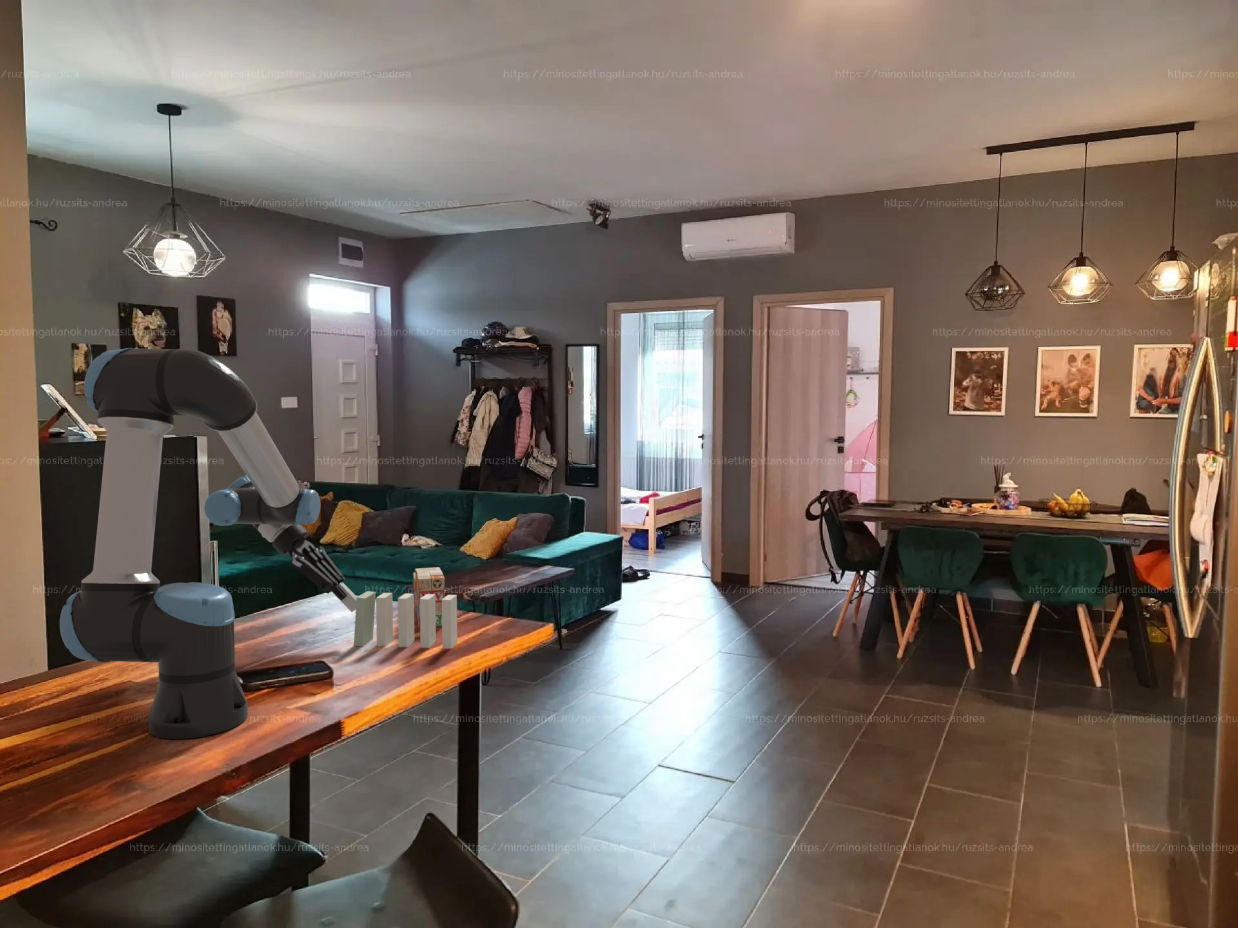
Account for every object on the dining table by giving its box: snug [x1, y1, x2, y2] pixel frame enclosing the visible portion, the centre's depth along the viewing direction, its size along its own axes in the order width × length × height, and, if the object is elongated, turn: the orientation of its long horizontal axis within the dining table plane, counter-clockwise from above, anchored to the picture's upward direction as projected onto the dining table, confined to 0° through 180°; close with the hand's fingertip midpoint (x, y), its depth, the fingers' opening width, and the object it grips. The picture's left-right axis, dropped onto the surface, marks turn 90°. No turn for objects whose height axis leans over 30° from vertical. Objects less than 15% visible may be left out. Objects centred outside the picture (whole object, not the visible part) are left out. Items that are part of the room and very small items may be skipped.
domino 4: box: [441, 594, 458, 650], centre depth 187 cm, size 2×5×11 cm, turn 175°
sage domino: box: [353, 590, 377, 647], centre depth 188 cm, size 2×6×11 cm, turn 175°
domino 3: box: [419, 594, 437, 649], centre depth 187 cm, size 2×5×11 cm, turn 175°
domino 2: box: [397, 593, 415, 648], centre depth 188 cm, size 2×5×11 cm, turn 175°
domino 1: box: [375, 592, 394, 647], centre depth 188 cm, size 2×5×11 cm, turn 175°
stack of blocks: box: [412, 566, 446, 629], centre depth 211 cm, size 21×6×12 cm, turn 17°
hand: (356, 607), depth 189 cm, fingers closed
